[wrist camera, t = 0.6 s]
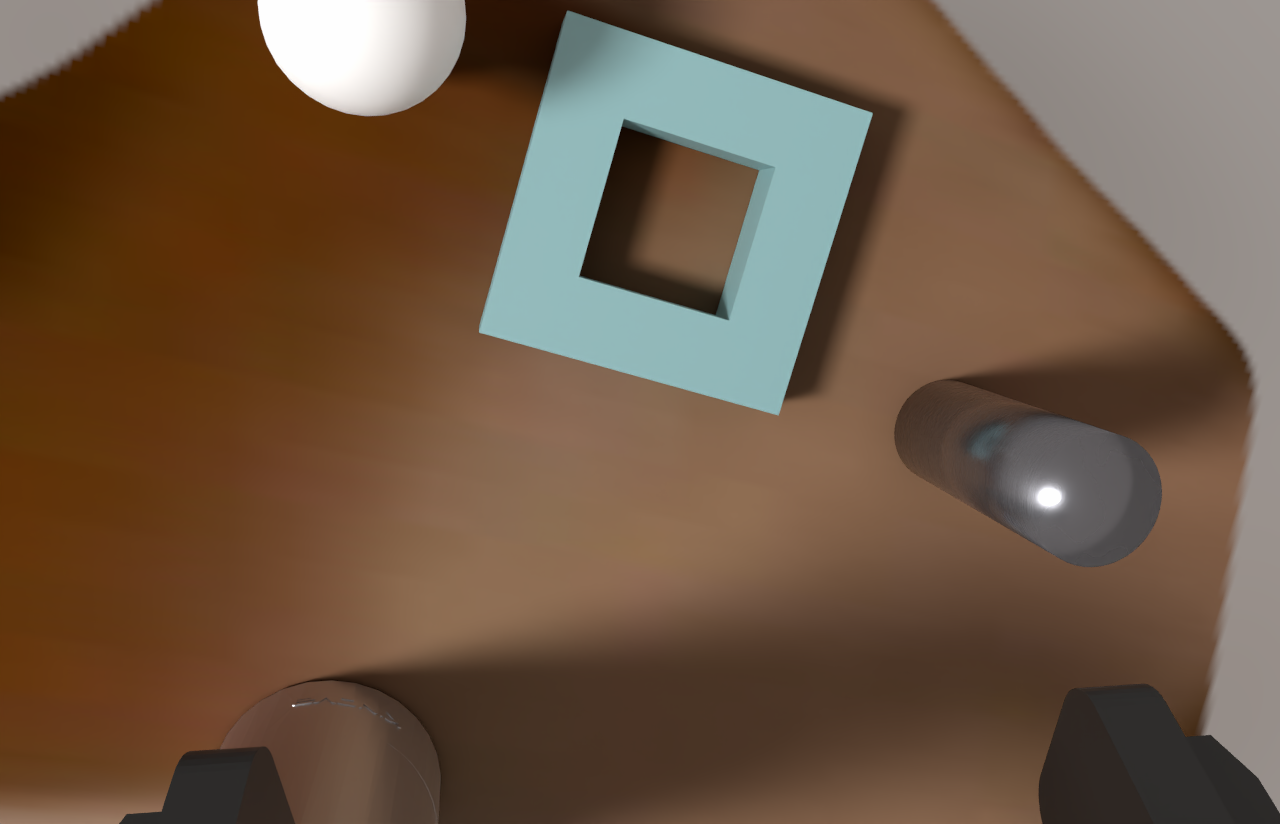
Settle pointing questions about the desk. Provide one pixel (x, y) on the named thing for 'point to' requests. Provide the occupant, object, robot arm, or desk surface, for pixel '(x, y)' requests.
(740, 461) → the desk surface
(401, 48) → the lightbulb
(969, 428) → the brushed steel cylinder
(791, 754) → the desk surface
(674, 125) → the frame
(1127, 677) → the desk surface
